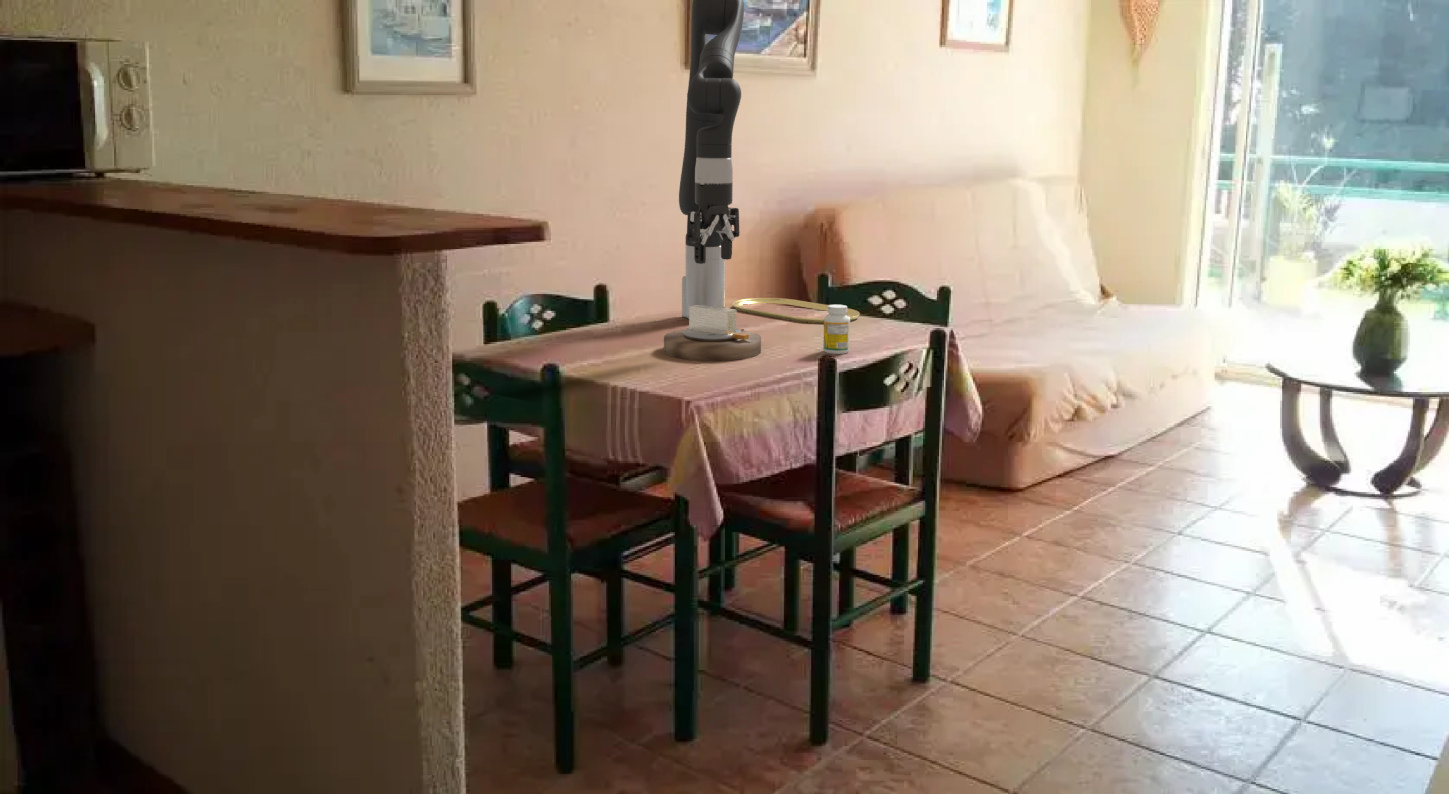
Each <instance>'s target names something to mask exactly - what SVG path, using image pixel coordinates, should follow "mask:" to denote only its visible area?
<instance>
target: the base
mask: <svg viewBox="0 0 1449 794" xmlns="http://www.w3.org/2000/svg"><path fill="white" fill-rule="evenodd" d="M685 329H686V328H685ZM685 329H680V330H674V331H671V332H668V333H666V334H664V336H663V352H664V354H666V355H667V356H669V355H670V357H672V358H677V359H682V360H690V361H701V362H703V361H704V362H724V361H725V362H726V361H738V360H747V359H749V358H753V357H757V356H759V355H760V354H761V351H762V345H761V344H762V336H761V334H758V333H757V332H752V331H750V330H744V328H738V329H740V330H741V331H742V334H748V335H749V339H745V340H743V339H735V340H729V341H698V340H691V339H688V338H685V337H684V336H683V331H684V330H685Z"/></svg>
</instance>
